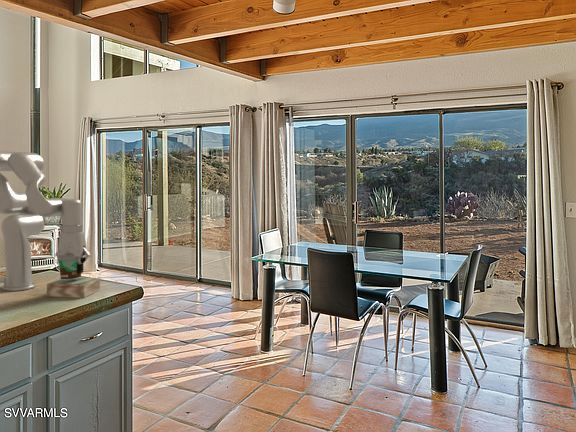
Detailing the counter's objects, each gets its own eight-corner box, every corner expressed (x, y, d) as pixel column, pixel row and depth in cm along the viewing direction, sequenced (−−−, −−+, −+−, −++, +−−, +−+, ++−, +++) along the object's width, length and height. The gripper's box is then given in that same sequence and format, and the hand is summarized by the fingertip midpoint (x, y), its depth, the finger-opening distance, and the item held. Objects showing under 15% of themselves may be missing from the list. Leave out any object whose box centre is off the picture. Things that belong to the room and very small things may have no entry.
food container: (71, 280, 185) (71, 255, 184) (58, 279, 186) (57, 255, 185) (90, 274, 197) (90, 251, 196) (77, 273, 198) (77, 250, 197)
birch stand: (46, 296, 187) (46, 283, 186) (64, 289, 199) (64, 276, 199) (84, 298, 185) (83, 284, 185) (99, 290, 197) (99, 278, 197)
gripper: (47, 229, 187) (48, 273, 189) (87, 230, 185) (88, 275, 187) (58, 227, 195) (59, 270, 196) (96, 228, 193) (97, 271, 194)
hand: (73, 272), depth 192 cm, fingers closed on food container, 5 cm apart
